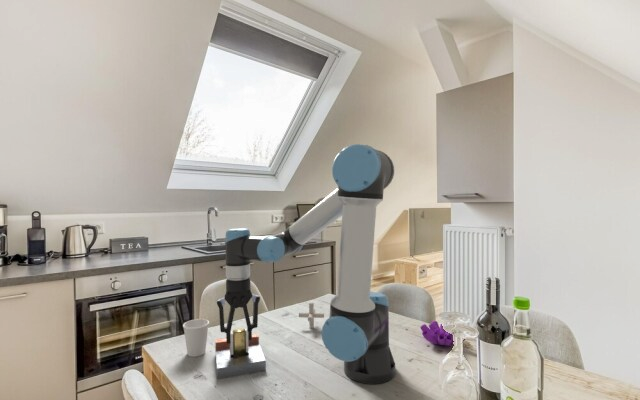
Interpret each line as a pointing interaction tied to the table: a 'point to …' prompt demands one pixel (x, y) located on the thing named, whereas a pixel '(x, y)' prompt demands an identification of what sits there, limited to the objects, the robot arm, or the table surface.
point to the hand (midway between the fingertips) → (239, 351)
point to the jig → (239, 359)
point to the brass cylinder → (239, 342)
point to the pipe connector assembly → (437, 334)
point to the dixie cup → (196, 336)
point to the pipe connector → (311, 315)
